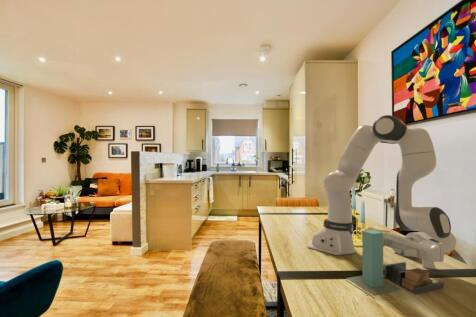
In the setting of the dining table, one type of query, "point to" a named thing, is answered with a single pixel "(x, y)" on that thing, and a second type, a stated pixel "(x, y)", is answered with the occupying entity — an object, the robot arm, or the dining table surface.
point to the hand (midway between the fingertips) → (390, 248)
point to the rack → (398, 272)
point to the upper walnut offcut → (417, 275)
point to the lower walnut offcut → (411, 284)
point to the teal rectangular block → (373, 258)
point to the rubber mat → (373, 290)
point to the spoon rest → (424, 263)
